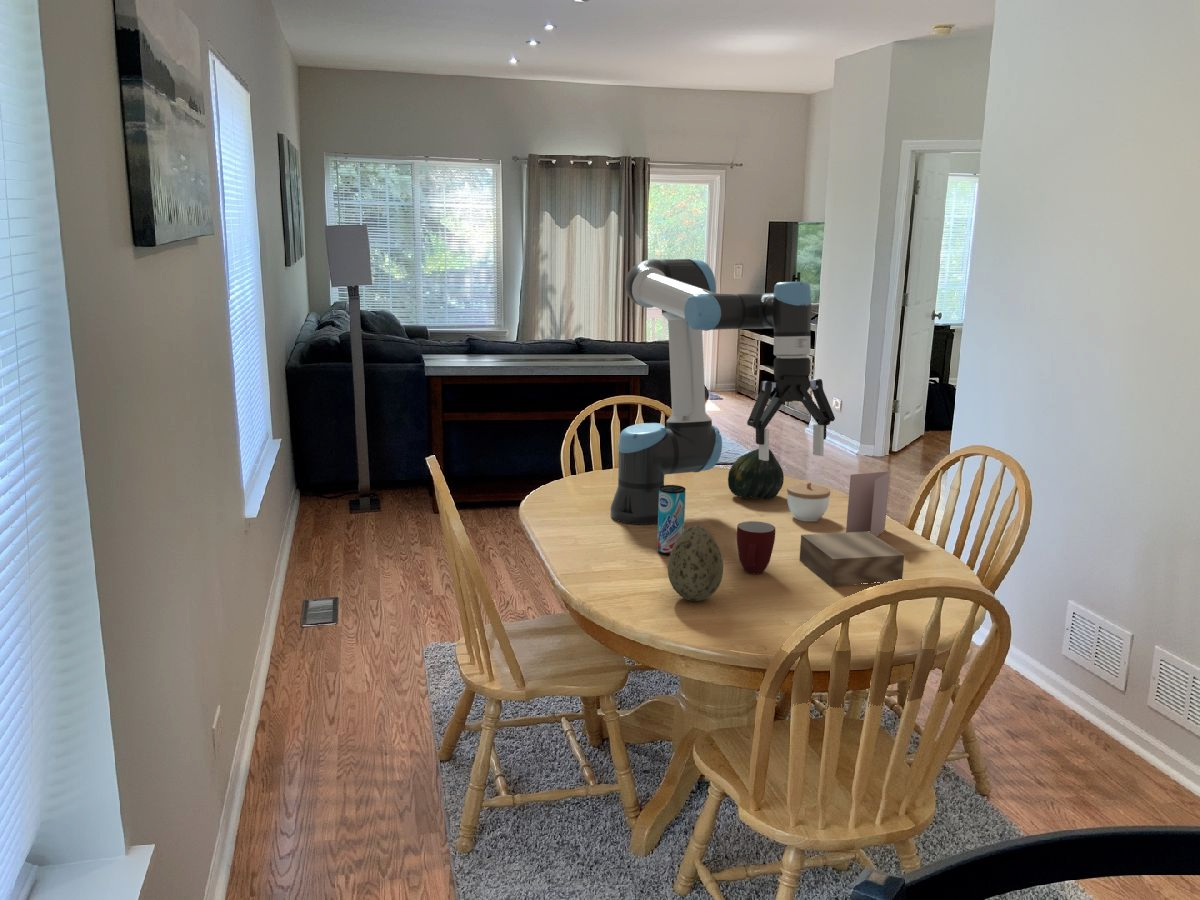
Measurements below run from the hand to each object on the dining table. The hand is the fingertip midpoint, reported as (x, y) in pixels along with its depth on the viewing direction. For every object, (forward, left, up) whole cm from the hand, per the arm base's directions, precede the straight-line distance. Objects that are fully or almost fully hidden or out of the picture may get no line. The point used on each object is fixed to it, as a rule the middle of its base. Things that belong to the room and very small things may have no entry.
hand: (791, 457), depth 197 cm
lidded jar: (+20, +33, -25) cm, 46 cm away
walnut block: (+13, -5, -25) cm, 28 cm away
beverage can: (-22, +13, -25) cm, 36 cm away
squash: (+14, +54, -25) cm, 61 cm away
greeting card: (+30, +17, -25) cm, 43 cm away
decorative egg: (-25, -15, -25) cm, 38 cm away
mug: (-8, -3, -25) cm, 26 cm away
